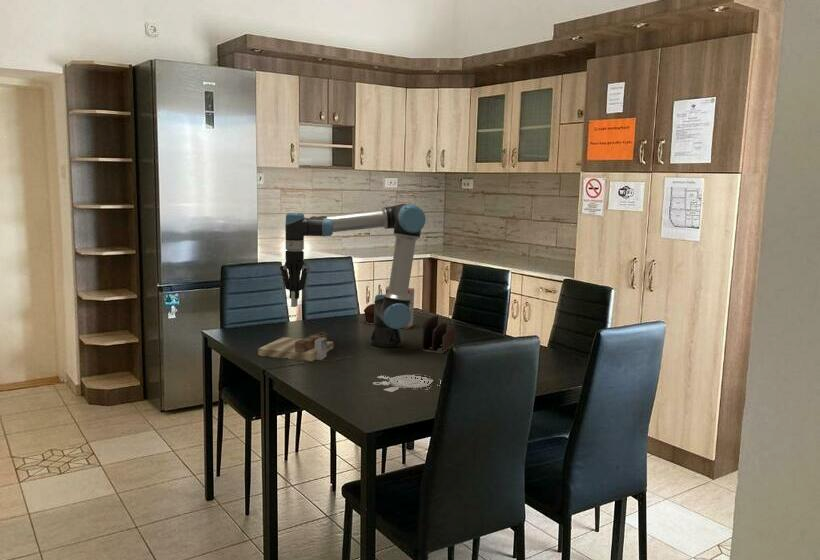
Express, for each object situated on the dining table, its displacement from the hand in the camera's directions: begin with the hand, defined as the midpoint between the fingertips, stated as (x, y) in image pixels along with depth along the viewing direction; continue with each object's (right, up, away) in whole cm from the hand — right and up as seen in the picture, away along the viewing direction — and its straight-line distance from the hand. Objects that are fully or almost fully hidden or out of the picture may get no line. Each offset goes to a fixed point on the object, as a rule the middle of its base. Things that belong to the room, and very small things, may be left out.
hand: (294, 306), depth 280 cm
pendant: (+49, -28, -34) cm, 66 cm away
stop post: (+11, -21, -3) cm, 24 cm away
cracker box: (+43, -14, +67) cm, 81 cm away
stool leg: (+7, -17, +4) cm, 19 cm away
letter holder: (+62, -20, +23) cm, 69 cm away
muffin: (+29, -12, +75) cm, 82 cm away
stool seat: (0, -20, +6) cm, 21 cm away
